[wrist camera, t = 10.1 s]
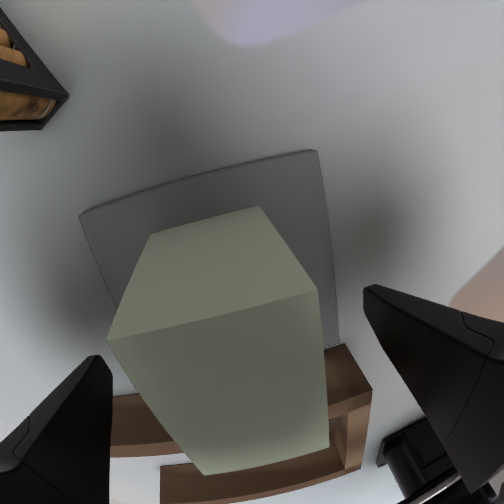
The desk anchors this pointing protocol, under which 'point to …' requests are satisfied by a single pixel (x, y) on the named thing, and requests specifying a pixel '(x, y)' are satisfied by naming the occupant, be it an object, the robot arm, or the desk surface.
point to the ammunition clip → (24, 83)
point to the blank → (226, 343)
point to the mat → (218, 203)
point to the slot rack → (262, 477)
